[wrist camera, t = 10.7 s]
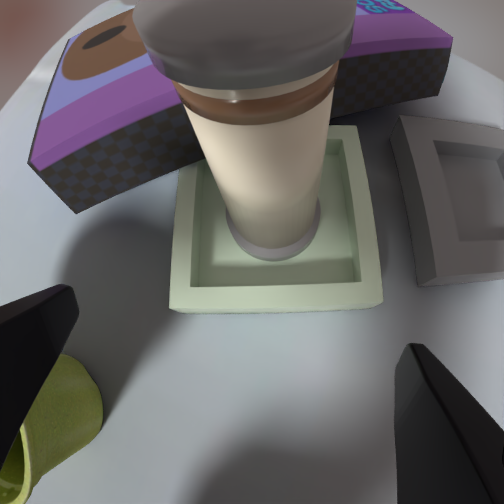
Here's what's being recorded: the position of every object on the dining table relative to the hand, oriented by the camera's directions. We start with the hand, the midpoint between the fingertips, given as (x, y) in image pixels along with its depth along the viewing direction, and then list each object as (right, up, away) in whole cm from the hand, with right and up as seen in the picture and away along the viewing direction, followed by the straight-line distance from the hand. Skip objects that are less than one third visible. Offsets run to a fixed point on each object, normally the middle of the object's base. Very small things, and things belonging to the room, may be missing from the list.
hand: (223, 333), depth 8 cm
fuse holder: (+15, +5, +10) cm, 18 cm away
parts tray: (+2, +4, +11) cm, 11 cm away
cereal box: (-13, +12, +11) cm, 21 cm away
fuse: (+2, +4, +10) cm, 11 cm away
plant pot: (-11, -7, +9) cm, 16 cm away
